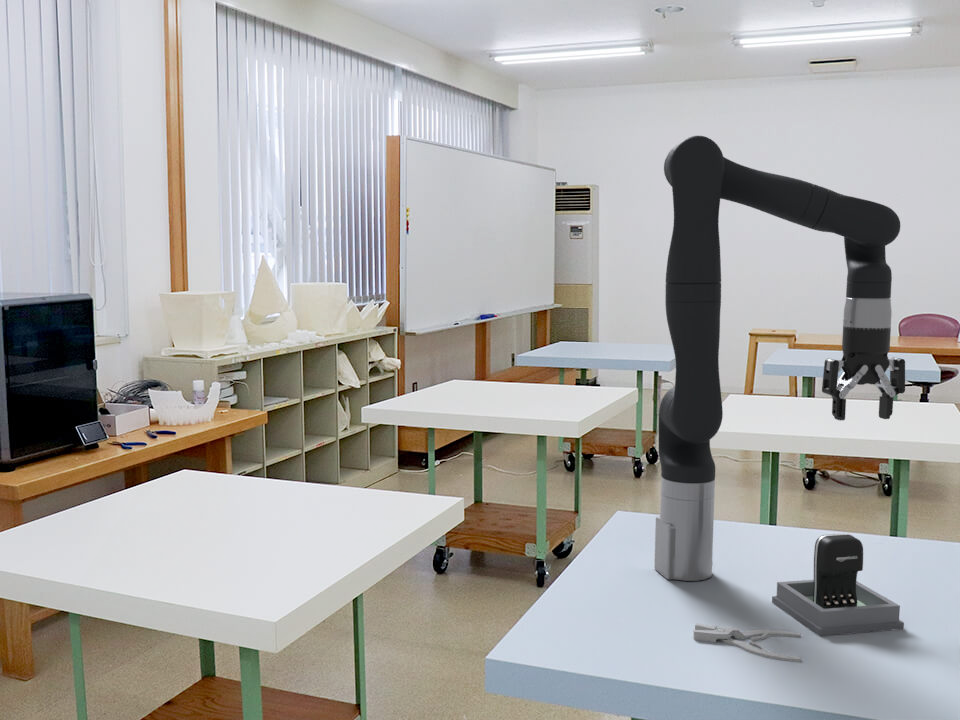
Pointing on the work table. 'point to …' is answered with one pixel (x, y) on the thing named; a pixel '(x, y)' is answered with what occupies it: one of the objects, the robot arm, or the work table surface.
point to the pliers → (725, 635)
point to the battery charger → (836, 570)
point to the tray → (837, 610)
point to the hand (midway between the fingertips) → (862, 419)
